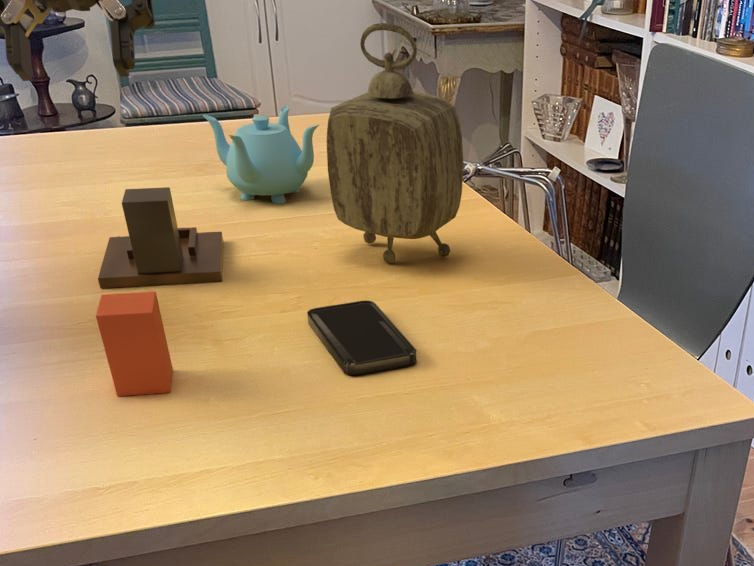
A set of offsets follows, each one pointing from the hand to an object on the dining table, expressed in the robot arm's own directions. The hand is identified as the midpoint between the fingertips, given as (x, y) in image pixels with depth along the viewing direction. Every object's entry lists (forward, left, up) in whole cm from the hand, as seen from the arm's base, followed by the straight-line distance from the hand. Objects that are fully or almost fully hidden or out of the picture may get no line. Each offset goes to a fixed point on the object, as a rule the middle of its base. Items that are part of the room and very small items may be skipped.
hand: (72, 73), depth 82 cm
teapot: (-11, +50, -25) cm, 57 cm away
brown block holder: (-10, +21, -25) cm, 34 cm away
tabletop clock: (+16, +33, -25) cm, 44 cm away
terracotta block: (+6, -7, -25) cm, 27 cm away
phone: (+22, +9, -25) cm, 34 cm away
